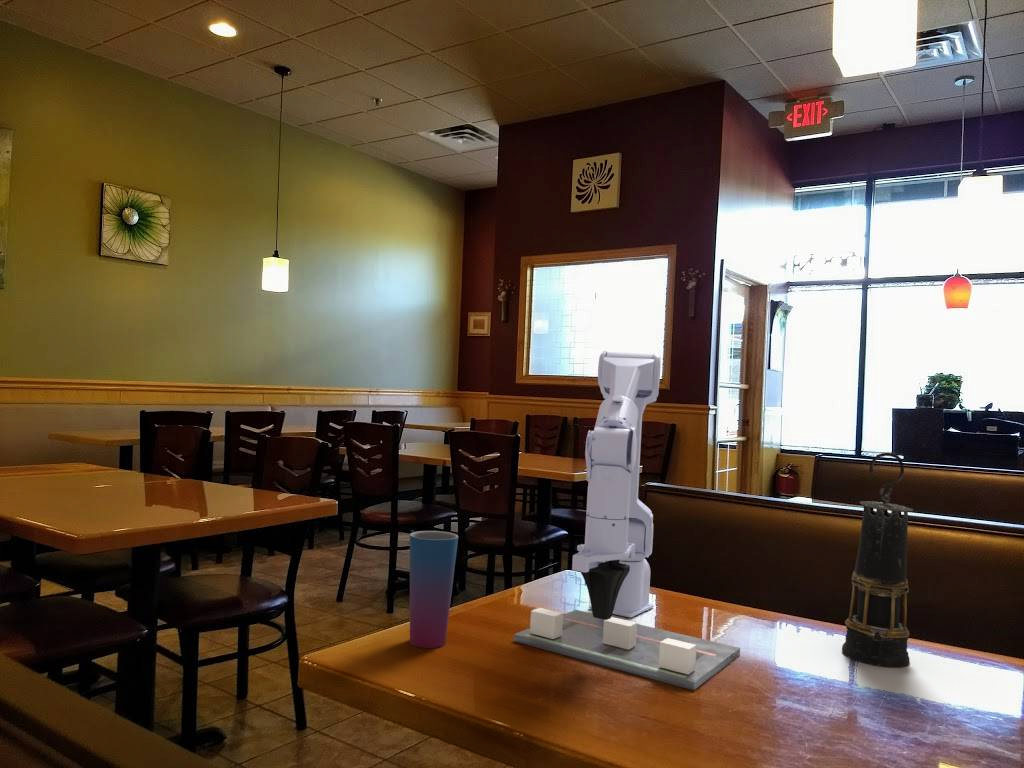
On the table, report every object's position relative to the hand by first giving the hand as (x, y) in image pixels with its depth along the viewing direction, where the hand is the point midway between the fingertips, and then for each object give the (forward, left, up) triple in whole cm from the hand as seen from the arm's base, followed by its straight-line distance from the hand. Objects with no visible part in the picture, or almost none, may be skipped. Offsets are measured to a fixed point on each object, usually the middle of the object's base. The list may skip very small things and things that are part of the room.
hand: (602, 617), depth 102 cm
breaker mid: (-6, 0, -5) cm, 8 cm away
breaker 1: (-2, -10, -5) cm, 11 cm away
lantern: (-31, +29, -6) cm, 43 cm away
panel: (-8, 0, -6) cm, 10 cm away
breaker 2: (-2, +10, -5) cm, 11 cm away
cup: (+10, -22, -6) cm, 25 cm away
